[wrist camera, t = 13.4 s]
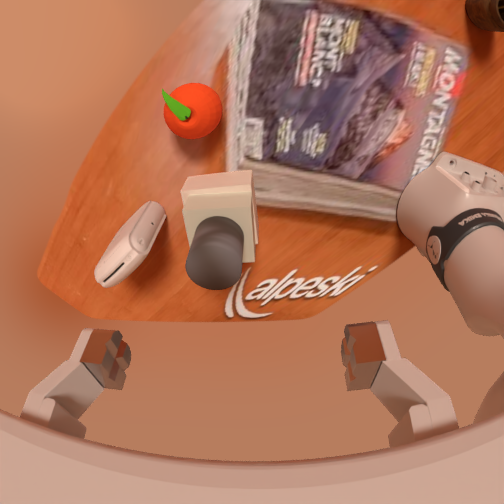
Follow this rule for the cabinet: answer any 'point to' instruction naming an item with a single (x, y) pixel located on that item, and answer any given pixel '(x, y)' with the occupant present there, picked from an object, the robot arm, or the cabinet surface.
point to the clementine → (192, 110)
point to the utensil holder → (486, 14)
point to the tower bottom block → (222, 187)
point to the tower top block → (224, 205)
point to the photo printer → (130, 245)
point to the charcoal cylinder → (216, 253)
